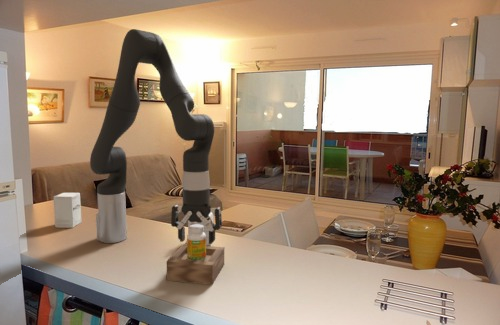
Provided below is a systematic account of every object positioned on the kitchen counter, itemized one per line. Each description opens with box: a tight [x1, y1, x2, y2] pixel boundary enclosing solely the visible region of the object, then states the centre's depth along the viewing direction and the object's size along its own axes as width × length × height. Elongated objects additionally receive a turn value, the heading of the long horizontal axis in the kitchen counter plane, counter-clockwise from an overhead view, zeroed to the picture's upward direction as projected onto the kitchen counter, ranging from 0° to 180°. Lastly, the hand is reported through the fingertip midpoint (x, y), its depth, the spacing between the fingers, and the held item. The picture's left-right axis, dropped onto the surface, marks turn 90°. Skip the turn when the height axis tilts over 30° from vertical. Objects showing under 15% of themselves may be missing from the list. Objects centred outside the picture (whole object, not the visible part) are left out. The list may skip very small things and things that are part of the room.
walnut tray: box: [166, 243, 225, 285], centre depth 104 cm, size 13×13×6 cm
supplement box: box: [52, 192, 82, 229], centre depth 145 cm, size 7×7×13 cm
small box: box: [187, 212, 214, 246], centre depth 128 cm, size 8×6×10 cm
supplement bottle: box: [186, 224, 207, 261], centre depth 104 cm, size 5×5×10 cm
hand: (196, 241), depth 104 cm, fingers open, 8 cm apart
